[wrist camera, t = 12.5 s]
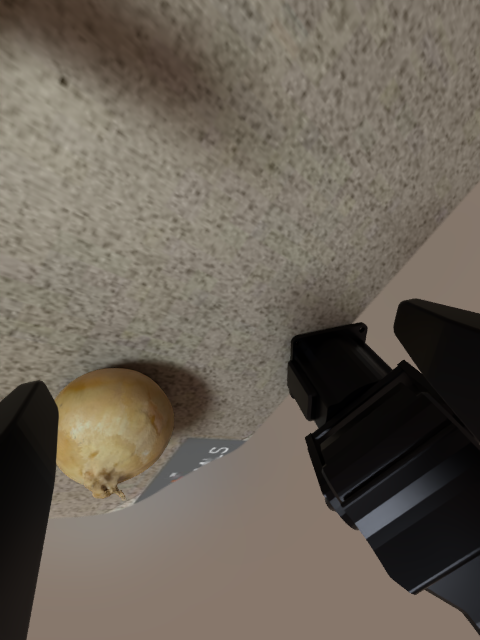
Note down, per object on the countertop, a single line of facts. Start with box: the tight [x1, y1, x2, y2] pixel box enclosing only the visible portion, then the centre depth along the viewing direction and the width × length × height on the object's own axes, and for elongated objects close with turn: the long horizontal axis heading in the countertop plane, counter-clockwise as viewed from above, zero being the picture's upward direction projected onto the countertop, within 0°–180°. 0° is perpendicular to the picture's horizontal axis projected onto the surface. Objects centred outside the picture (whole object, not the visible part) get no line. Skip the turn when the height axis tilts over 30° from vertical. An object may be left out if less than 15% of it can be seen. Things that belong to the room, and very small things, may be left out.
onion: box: [55, 368, 174, 501], centre depth 21 cm, size 8×8×7 cm
